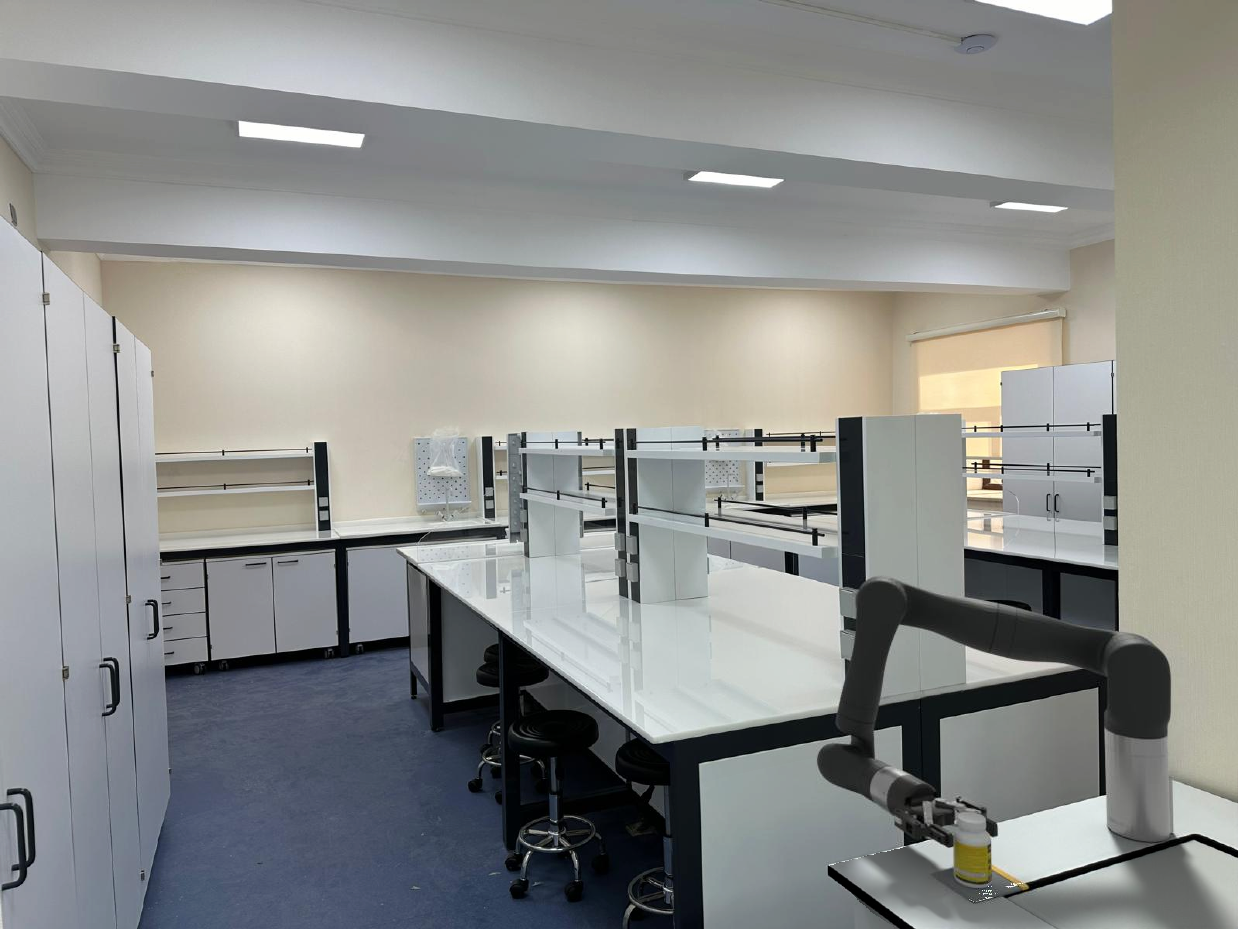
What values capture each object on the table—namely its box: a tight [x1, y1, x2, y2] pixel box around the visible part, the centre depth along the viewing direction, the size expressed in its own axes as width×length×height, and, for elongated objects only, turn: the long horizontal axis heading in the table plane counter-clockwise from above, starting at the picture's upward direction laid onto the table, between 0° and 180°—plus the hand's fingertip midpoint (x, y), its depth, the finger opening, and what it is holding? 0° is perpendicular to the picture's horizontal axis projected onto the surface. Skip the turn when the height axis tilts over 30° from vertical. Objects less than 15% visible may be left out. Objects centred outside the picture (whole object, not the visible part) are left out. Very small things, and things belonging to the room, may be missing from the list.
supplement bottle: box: [952, 812, 993, 888], centre depth 128 cm, size 5×5×10 cm
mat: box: [930, 864, 1030, 902], centre depth 128 cm, size 10×9×1 cm
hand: (974, 836), depth 127 cm, fingers open, 8 cm apart
